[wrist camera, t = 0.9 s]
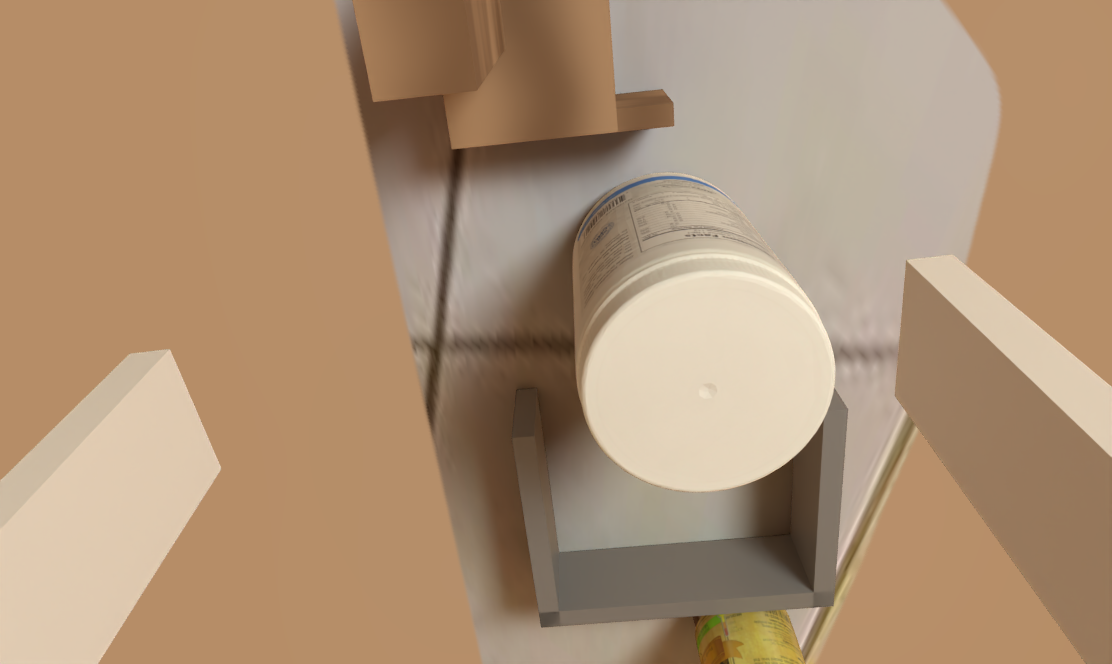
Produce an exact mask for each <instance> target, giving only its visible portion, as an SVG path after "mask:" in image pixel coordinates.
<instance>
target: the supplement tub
mask: <svg viewBox="0 0 1112 664" xmlns="http://www.w3.org/2000/svg"><path fill="white" fill-rule="evenodd" d="M572 271H573V299H574V330H575V366H576V380H577V389H578V394H579V398H580V401H581V404H582V408H583V413H584V417H585V420H586V422H587V425H588V427H589V430H590V432H591V434H592V436H593V437H594V439H595V440H596V442H597V444H598V445H599V447H600V448H601V449H602V450H603V452H604V453H605V454H606V455H607V456H608V457H609V458H610V459H611V460H612V461H613V462H614V463H616V464H617V465H618V466H619V467H621V468H622V469H623V470H624V471H626V472H627V473H629V474H631V475H632V476H634V477H636V478H638V479H640V480H642V481H644V482H647V483H649V484H652V485H655V486H658V487H662V488H666V489H670V490H676V491H682V492H714V491H721V490H727V489H731V488H735V487H739V486H742V485H746V484H748V483H751V482H753V481H756V480H758V479H761V478H763V477H765V476H767V475H768V474H770V473H772V472H774V471H775V470H777V469H779V468H780V467H782V466H783V465H785V464H786V463H787V462H788V461H790V460H791V459H792V458H793V457H795V456H796V455H797V454H798V453H799V452H800V451H801V450H802V449H803V448H804V447H805V446H806V444H807V443H808V442H809V441H810V440H811V438H812V437H813V436H814V434H815V433H816V432H817V430H818V428H819V427H820V425H821V423H822V422H823V420H824V418H825V415H826V413H827V411H828V408H829V406H830V403H831V399H832V396H833V391H834V384H835V360H834V354H833V350H832V347H831V343H830V340H829V337H828V335H827V332H826V330H825V328H824V327H823V325H822V322H821V320H820V317H819V315H818V313H817V311H816V309H815V308H814V306H813V304H812V303H811V301H810V300H809V299H808V297H807V295H806V294H805V293H804V291H803V290H802V289H801V288H800V286H799V285H798V283H797V282H796V281H795V279H794V278H793V277H792V275H791V274H790V273H789V272H788V270H787V269H786V268H785V266H784V265H783V264H782V263H781V261H780V260H779V259H778V258H777V256H776V255H775V254H774V252H773V251H772V250H771V249H770V247H769V246H768V245H767V243H766V242H765V241H764V240H763V238H762V237H761V236H760V234H759V233H758V232H757V231H756V229H755V228H754V227H753V226H752V224H751V223H750V222H749V220H748V219H747V218H746V216H745V215H744V214H743V213H742V211H741V210H740V209H739V208H738V206H737V205H736V204H735V203H734V202H733V201H732V200H731V199H730V198H729V197H728V196H727V195H726V194H725V193H724V192H723V191H722V190H720V189H719V188H717V187H716V186H714V185H713V184H711V183H709V182H707V181H705V180H703V179H700V178H698V177H694V176H691V175H687V174H682V173H671V172H663V173H653V174H648V175H644V176H640V177H637V178H634V179H632V180H629V181H627V182H625V183H622V184H621V185H619V186H617V187H615V188H614V189H612V190H611V191H610V192H608V193H607V194H606V195H605V196H604V197H602V198H601V199H600V200H599V201H598V202H597V203H596V204H595V205H594V207H593V208H592V209H591V211H590V212H589V213H588V215H587V216H586V218H585V219H584V221H583V223H582V225H581V227H580V229H579V232H578V234H577V237H576V240H575V244H574V250H573V267H572Z"/></svg>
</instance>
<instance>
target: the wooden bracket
mask: <svg viewBox="0 0 1112 664" xmlns="http://www.w3.org/2000/svg"><path fill="white" fill-rule="evenodd" d="M352 1H353V6H354V11H355V16H356V21H357V26H358V30H359V35H360V40H361V45H362V50H363V55H364V60H365V65H366V70H367V75H368V79H369V84H370V89H371V94H372V99H373V102H379V101H388V100H397V99H406V98H415V97H425V96H434V95H443V100H444V106H445V112H446V118H447V124H448V130H449V136H450V142H451V148H452V149H461V148H470V147H480V146H489V145H499V144H508V143H518V142H527V141H537V140H547V139H556V138H566V137H575V136H585V135H594V134H604V133H613V132H623V131H632V130H642V129H651V128H661V127H671V126H674V108H673V102H672V101H671V99H670V98H669V97H668V96H667V94H666V93H665V92H664V91H663V89H661V90H652V91H643V92H633V93H624V94H615V82H614V68H613V53H612V38H611V24H610V9H609V0H352Z"/></svg>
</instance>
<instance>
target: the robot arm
mask: <svg viewBox="0 0 1112 664" xmlns="http://www.w3.org/2000/svg"><path fill="white" fill-rule="evenodd" d="M895 397H896V398H897V400H898V401H899V402H900V404H901V405H902V407H903V408H904V409H905V411H906V412H907V414H908V415H909V416H910V418H911V419H912V421H913V422H914V423H915V425H916V426H917V428H918V429H919V430H920V432H921V433H922V435H923V436H924V437H925V439H926V440H927V442H928V443H929V444H930V446H931V447H932V449H933V450H934V452H935V453H936V454H937V456H938V457H939V458H940V460H941V461H942V463H943V464H944V466H945V467H946V468H947V470H948V471H949V473H950V474H951V475H952V477H953V478H954V479H955V481H956V482H957V484H958V485H959V486H960V488H961V489H962V491H963V492H964V494H965V495H966V496H967V498H968V499H969V501H970V502H971V503H972V505H973V506H974V508H975V509H976V510H977V512H978V513H979V515H980V516H981V517H982V519H983V520H984V522H985V523H986V524H987V526H988V527H989V529H990V530H991V531H992V533H993V534H994V536H995V537H996V538H997V540H998V541H999V542H1000V544H1001V545H1002V547H1003V548H1004V550H1005V551H1006V552H1007V554H1008V555H1009V557H1010V558H1011V559H1012V561H1013V562H1014V563H1015V565H1016V566H1017V568H1018V569H1019V571H1020V572H1021V574H1022V575H1023V576H1024V578H1025V579H1026V581H1027V582H1028V583H1029V584H1030V586H1031V588H1032V589H1033V590H1034V592H1035V593H1036V595H1037V596H1038V597H1039V599H1040V600H1041V601H1042V603H1043V604H1044V606H1045V607H1046V609H1047V610H1048V611H1049V613H1050V614H1051V616H1052V617H1053V618H1054V620H1055V621H1056V622H1057V624H1058V625H1059V626H1060V628H1061V629H1062V631H1063V632H1064V634H1065V635H1066V636H1067V638H1068V639H1069V641H1070V642H1071V644H1072V645H1073V646H1074V648H1075V649H1076V651H1077V652H1078V653H1079V655H1080V656H1081V658H1082V659H1083V660H1084V662H1085V663H1086V664H1112V387H1111V386H1110V385H1109V384H1107V383H1106V382H1105V381H1104V380H1103V379H1101V378H1100V377H1099V376H1098V375H1097V374H1096V373H1094V372H1093V371H1092V370H1091V369H1089V368H1088V367H1087V366H1086V365H1085V364H1083V363H1082V362H1081V361H1080V360H1079V359H1078V358H1076V357H1075V356H1074V355H1073V354H1072V353H1070V352H1069V351H1068V350H1067V349H1065V348H1064V347H1063V346H1062V345H1061V344H1060V343H1058V342H1057V341H1056V340H1055V339H1053V338H1052V337H1051V336H1050V335H1049V334H1047V333H1046V332H1045V331H1044V330H1043V329H1041V328H1040V327H1039V326H1038V325H1036V324H1035V323H1034V322H1033V321H1031V319H1029V318H1028V317H1027V316H1026V315H1025V314H1023V313H1022V312H1021V311H1020V310H1019V309H1017V308H1016V307H1015V306H1014V305H1013V304H1011V303H1010V302H1009V301H1008V300H1007V299H1005V298H1004V297H1003V296H1002V295H1001V294H999V293H998V292H997V291H996V290H995V289H993V288H992V287H991V286H990V285H988V284H987V283H986V282H985V281H984V280H983V279H981V278H980V277H979V276H978V275H976V274H975V273H974V272H973V271H972V270H970V269H969V268H968V267H967V266H966V265H965V264H963V263H962V262H961V261H960V260H959V259H957V258H956V257H955V256H954V255H945V256H937V257H929V258H920V259H912V260H906V270H905V282H904V293H903V305H902V317H901V328H900V340H899V352H898V363H897V375H896V387H895ZM220 470H221V467H220V464H219V462H218V460H217V458H216V455H215V453H214V451H213V448H212V446H211V444H210V441H209V439H208V437H207V434H206V432H205V430H204V427H203V425H202V423H201V421H200V418H199V416H198V414H197V411H196V409H195V407H194V404H193V402H192V400H191V397H190V395H189V393H188V390H187V388H186V386H185V383H184V381H183V379H182V376H181V374H180V372H179V370H178V367H177V365H176V363H175V360H174V358H173V356H172V354H171V351H170V349H167V350H158V351H150V352H142V353H134V354H129V355H128V356H127V357H126V358H125V359H124V360H123V361H122V362H121V363H120V364H119V365H118V366H117V367H116V368H115V369H114V370H113V371H112V372H111V373H110V374H109V375H108V376H107V377H106V378H105V379H104V380H103V381H102V382H101V383H100V384H99V385H97V386H96V387H95V388H94V389H93V390H92V391H91V392H90V393H89V394H88V395H87V396H86V397H85V398H84V399H83V400H82V401H81V402H80V403H79V404H78V405H77V406H76V407H75V408H74V409H73V410H72V411H71V412H70V413H69V414H68V415H67V416H66V417H65V418H64V419H63V420H62V421H61V422H60V423H59V424H58V425H57V426H56V427H55V428H54V429H53V430H52V431H51V432H49V433H48V434H47V435H46V437H45V438H43V439H42V440H41V441H40V442H39V443H38V444H37V445H36V446H35V447H34V448H33V449H32V450H31V451H30V452H29V453H28V454H27V455H26V456H25V457H24V458H23V459H22V460H21V461H20V462H19V463H18V464H17V465H16V466H15V467H14V468H13V469H12V470H11V471H10V472H9V473H8V474H7V475H6V476H5V477H4V478H3V479H2V480H0V664H98V663H99V661H100V659H101V658H102V656H103V655H104V653H105V652H106V650H107V648H108V647H109V645H110V644H111V642H112V641H113V639H114V637H115V636H116V634H117V633H118V631H119V629H120V628H121V626H122V625H123V623H124V622H125V620H126V618H127V617H128V615H129V614H130V612H131V611H132V609H133V607H134V606H135V604H136V603H137V601H138V599H139V598H140V596H141V595H142V593H143V592H144V590H145V588H146V587H147V585H148V584H149V582H150V580H151V579H152V577H153V576H154V574H155V572H156V571H157V570H158V568H159V566H160V565H161V563H162V561H163V560H164V558H165V557H166V555H167V554H168V552H169V550H170V549H171V547H172V546H173V544H174V542H175V541H176V540H177V538H178V536H179V535H180V533H181V532H182V530H183V528H184V527H185V525H186V524H187V522H188V521H189V519H190V517H191V516H192V514H193V512H194V511H195V509H196V508H197V506H198V505H199V503H200V501H201V500H202V499H203V497H204V495H205V494H206V492H207V491H208V489H209V487H210V486H211V484H212V483H213V481H214V480H215V478H216V476H217V475H218V473H219V472H220Z"/></svg>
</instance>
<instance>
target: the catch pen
mask: <svg viewBox="0 0 1112 664" xmlns="http://www.w3.org/2000/svg"><path fill="white" fill-rule="evenodd" d="M847 417H848V408H847V407H846V405H845V404H844V402H843V401H842V399H841V398H840V396H839V394H838V393H837V391H836V390H835V388H834V391H833V396H832V399H831V403H830V406H829V408H828V411H827V413H826V415H825V418H824V420H823V422H822V423H821V425H820V427H819V428H818V430H817V432H816V433H815V434H814V436H813V437H812V438H811V440H810V441H809V442H808V443H807V444H806V446H805V447H804V448H803V449H802V450H801V451H800V452H799V453H798V454H797V455H796V456H795V457H793V478H792V504H791V529H790V535H778V536H765V537H752V538H740V539H727V540H714V541H701V542H688V543H676V544H663V545H650V546H637V547H624V548H612V549H599V550H586V551H573V552H560V553H559V549H558V542H557V534H556V527H555V519H554V512H553V504H552V497H551V489H550V482H549V475H548V467H547V460H546V452H545V445H544V437H543V430H542V422H541V415H540V407H539V400H538V393H537V388H531V389H520V390H516V399H515V409H514V419H513V429H512V444H513V450H514V457H515V463H516V470H517V476H518V482H519V489H520V495H521V502H522V508H523V514H524V521H525V527H526V534H527V540H528V546H529V553H530V559H531V566H532V572H533V579H534V585H535V591H536V598H537V604H538V611H539V617H540V623H541V627H554V626H568V625H582V624H595V623H609V622H623V621H636V620H650V619H664V618H677V617H691V616H705V615H718V614H732V613H746V612H759V611H773V610H787V609H800V608H814V607H828V606H833V604H834V591H835V577H836V564H837V551H838V537H839V524H840V510H841V497H842V484H843V470H844V457H845V443H846V430H847Z"/></svg>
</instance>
